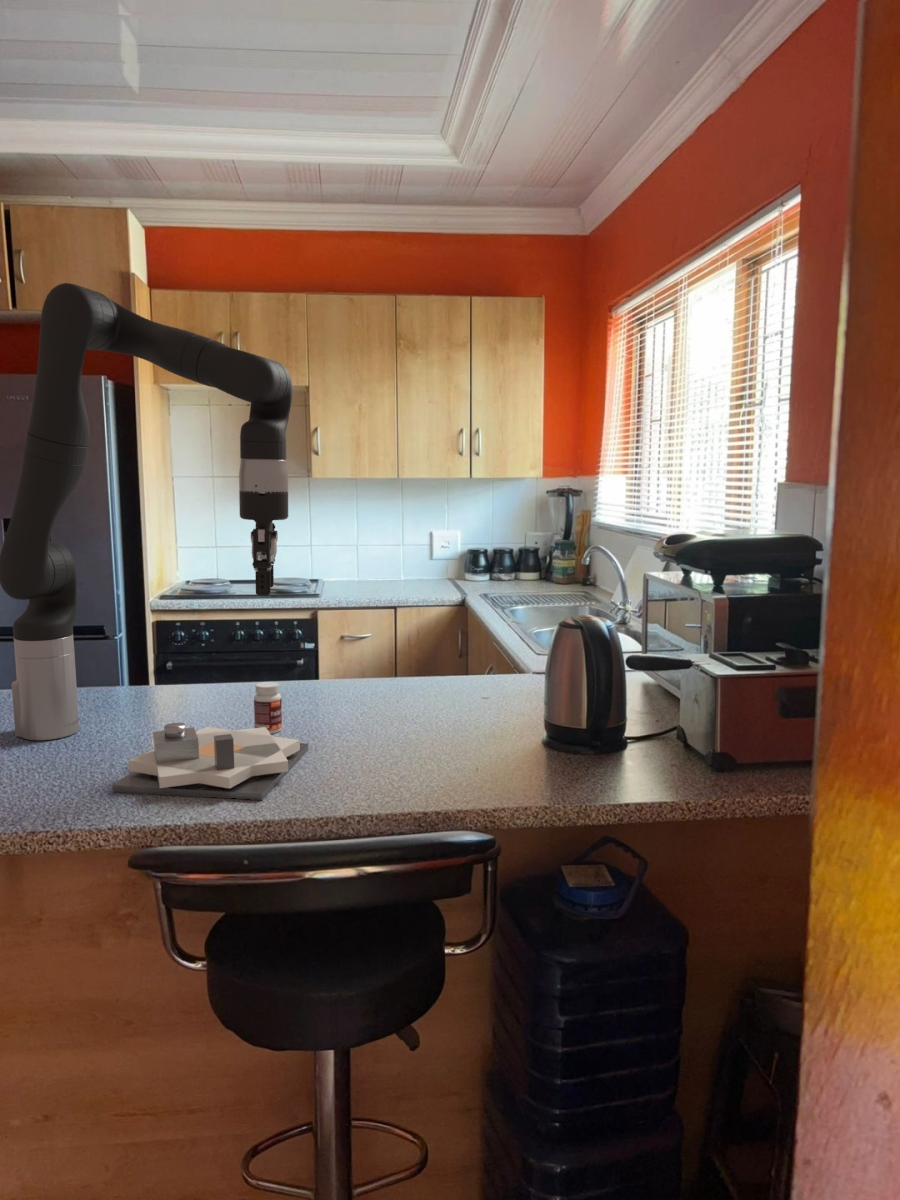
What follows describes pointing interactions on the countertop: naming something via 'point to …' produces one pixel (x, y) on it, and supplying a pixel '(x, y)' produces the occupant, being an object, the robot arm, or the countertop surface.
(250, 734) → the turntable
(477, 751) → the countertop surface
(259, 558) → the robot arm
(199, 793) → the base
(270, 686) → the pill bottle
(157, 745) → the cover
